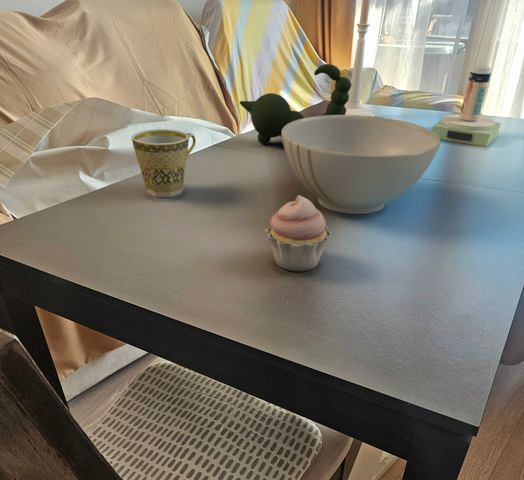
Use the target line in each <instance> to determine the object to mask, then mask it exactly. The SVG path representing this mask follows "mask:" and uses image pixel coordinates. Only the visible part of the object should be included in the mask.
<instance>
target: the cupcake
mask: <svg viewBox="0 0 524 480" xmlns="http://www.w3.org/2000/svg"><path fill="white" fill-rule="evenodd" d="M269 224H270V226H269V227H267V228H265V229H264V231H265V232H266V234H267V238H268V240H269V241H270V244H271V248H272V253H273V258H274V262H275V263H276V265H277V266H278V267H280V268H281V269H284V270H286V271H289V272H306V271H307V272H308V271H310V270H313V269H315V268H316V267H317V266H318V265H319V262H320V260H321V256H322V254H323V251H324V248H325V246H326V244H327V243H328V240H329V239H330V237H331V235H332V232H331V231H329V230H328V229H329V226H328V225H327V223H326V219H325V217H324V215H323V213H322V212H321V211H320V210H319V209H318V208H317V207H315V205H314V204H313V202H311V200H309V199H308V198H306V197H304V196H303V195H300V194H298V195H297V196H296V198H295V200H294V201H289V202H287V203H285V204H283V206H281V207H280V209H279V210H278V211H277V212H276V213H274V214H273V215H272V217H271V219H270V223H269Z"/></svg>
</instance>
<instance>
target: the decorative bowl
mask: <svg viewBox="0 0 524 480" xmlns="http://www.w3.org/2000/svg"><path fill="white" fill-rule="evenodd" d="M281 140H282V141H283V142H282V145H283V148H284V149H283V150H284V152H285V155H286V158H287V160H288V162H289V165H290V167H291V169H292V171H293V173H294V175H295V176H296V178H297V179H298V181H299V182H300V183H301V184H302V185H303V187H304V188H305V189H307V190H308V191H309V192H310V193H311V194H312V195H314V196H315V197H317V202H318V203H319V204H320V205H321V206H322V207H323V208H325V209H327V210H330V211H332V212H336V213H342V214H347V215H365V214H366V215H368V214H373V213H376V212H379V211H381V210H383V209H384V207H385V205H386V203H389V202H391V201H393V200H396V199H397V198H399V197H400V196H402V195H403V194H405V193H406V192H407V191H409V190H410V189H411V188H412V187H413V186H414V185H415V184H416V183H417V182H418V181H419V180H420V179H421V178H422V177H423V175H424V174H425V173H426V171H427V170H428V168H429V167H430V166H431V164H432V162H433V161H434V159H435V157H436V155H437V153H438V151H439V150H440V146H441V139H440V138H439V136H438V135H437V134H436V133H434V132H433V131H432V129H429V128H427V127H424V126H422V125H419V124H415V123H413V122H408V121H404V120H400V119H396V118H395V119H394V118H390V117H389V118H388V117H382V116H381V117H380V116H374V117H373V116H361V115H326V116H322V115H316V116H315V115H314V116H308V118H306V117H304V118H303V119H299V120H296V121H293V122H290V123H288V124H287V125H285V126H284V127H283V129H282V137H281Z"/></svg>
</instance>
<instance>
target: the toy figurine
mask: <svg viewBox="0 0 524 480" xmlns="http://www.w3.org/2000/svg"><path fill="white" fill-rule="evenodd" d="M313 74H314V76H318V75H319V74H325V75H326V76H328V77H329V78H330V80H332V81H334V82H335V83H334V89H333V90H332V92H331V94H330V101H329V102H328V103H327V105H326V108H325V112H324V113H323V114H322V115H321V116H326V115H345V113H346V108H345V106H346V105H347V102H348V99H349V91H350V88H351V85H352V84H351V80H350V79H349V78H348V77H346V76H341V75H342V73H341V70H340V69H339V67H338V66H336V65H334V64H332V63H324V64H322V65H320V66H318V68H316V69H315V71H314V73H313ZM239 105H240V106H242V108H243V109H245V110H246V111H247V112H248V113H249V114H250V119H251V123H252V126H253V128H254V130H255V131H256V132H257V133H258V134H257V141H258V142H259V143H260V144H262V145H267V144H268V143H270V142H271V140H272V138H276V137H280V138H282V129H283V127H284V126H285V125H287V124H288V123H290V122H293V121H296V120H299V119H303V118H308V117H309V116H308V117H305V116H304V115H303V114H302V113H301V112H299V111H297V110H292V109H291V106H290V104H289V102H288V101H287V99H286V98H284V97H283V96H281V95H280V94H277V93H275V92H269V93H265V94H263V95H261V96H259V97H258V98H257V99H255V100H240V101H239ZM282 143H283V141H282Z"/></svg>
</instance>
